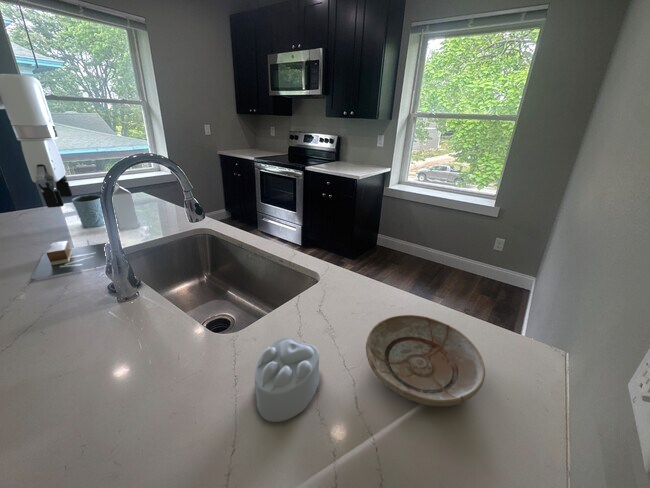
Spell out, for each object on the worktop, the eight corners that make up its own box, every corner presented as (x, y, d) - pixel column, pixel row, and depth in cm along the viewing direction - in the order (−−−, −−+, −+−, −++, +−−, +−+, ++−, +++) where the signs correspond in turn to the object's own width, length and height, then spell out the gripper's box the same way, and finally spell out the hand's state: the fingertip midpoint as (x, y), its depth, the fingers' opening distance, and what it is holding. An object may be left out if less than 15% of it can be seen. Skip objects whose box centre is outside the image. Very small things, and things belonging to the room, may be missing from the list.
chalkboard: (31, 283, 87) (30, 280, 87) (44, 255, 103) (43, 252, 102) (112, 266, 97) (111, 264, 97) (113, 244, 112) (113, 241, 112)
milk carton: (135, 222, 132) (124, 180, 124) (140, 227, 128) (129, 183, 120) (116, 226, 128) (104, 182, 120) (120, 231, 123) (108, 186, 115)
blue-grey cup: (103, 218, 135) (96, 193, 130) (113, 224, 130) (105, 197, 125) (76, 225, 128) (67, 198, 123) (86, 231, 122) (76, 203, 117)
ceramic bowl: (360, 328, 74) (361, 311, 72) (454, 332, 74) (459, 316, 72) (369, 415, 53) (372, 396, 51) (502, 422, 53) (510, 403, 51)
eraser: (69, 262, 97) (64, 249, 95) (51, 265, 95) (46, 252, 93) (72, 252, 103) (68, 240, 101) (55, 255, 101) (50, 243, 99)
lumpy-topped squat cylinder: (324, 376, 61) (326, 343, 57) (292, 433, 50) (291, 398, 46) (281, 358, 64) (279, 327, 61) (242, 408, 54) (238, 374, 50)
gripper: (28, 130, 77) (51, 194, 84) (0, 137, 63) (31, 213, 70) (64, 130, 80) (84, 191, 87) (45, 136, 66) (71, 209, 74)
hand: (60, 201), depth 79 cm, fingers open, 9 cm apart
